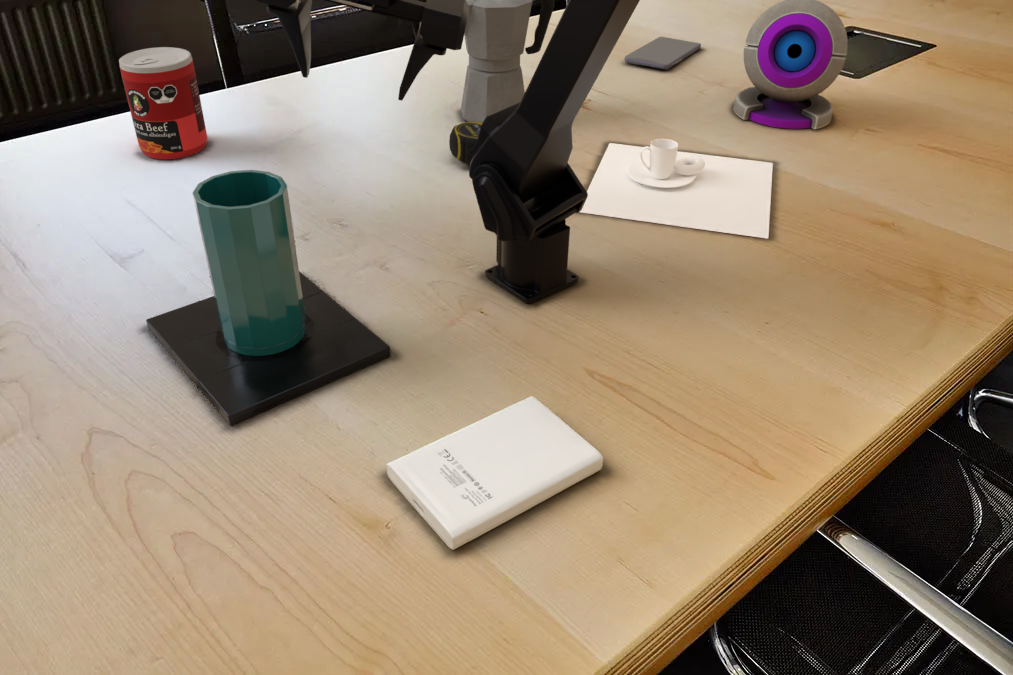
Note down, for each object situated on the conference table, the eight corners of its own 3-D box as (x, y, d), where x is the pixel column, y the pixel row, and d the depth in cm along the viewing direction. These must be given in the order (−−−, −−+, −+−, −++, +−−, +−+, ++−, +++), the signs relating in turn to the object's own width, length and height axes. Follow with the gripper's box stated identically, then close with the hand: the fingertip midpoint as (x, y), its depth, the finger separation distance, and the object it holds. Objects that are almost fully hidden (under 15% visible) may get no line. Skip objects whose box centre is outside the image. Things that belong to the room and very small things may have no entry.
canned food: (126, 152, 103) (103, 60, 96) (176, 131, 108) (157, 42, 102) (173, 165, 100) (152, 71, 93) (222, 142, 106) (205, 52, 99)
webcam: (728, 122, 114) (748, 5, 105) (738, 92, 124) (758, -17, 115) (829, 136, 111) (859, 16, 102) (832, 104, 121) (859, -8, 112)
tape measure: (514, 167, 101) (515, 137, 99) (458, 173, 99) (457, 143, 97) (496, 145, 106) (497, 116, 104) (443, 151, 105) (442, 121, 102)
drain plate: (391, 356, 70) (390, 346, 70) (230, 426, 63) (228, 415, 62) (296, 276, 80) (295, 267, 79) (148, 329, 73) (145, 319, 72)
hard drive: (602, 472, 60) (452, 553, 53) (530, 410, 65) (387, 477, 59) (604, 455, 59) (452, 535, 52) (530, 393, 64) (385, 459, 58)
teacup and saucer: (704, 168, 102) (710, 135, 99) (698, 196, 95) (704, 162, 93) (631, 159, 104) (635, 126, 101) (620, 186, 97) (624, 152, 95)
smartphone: (703, 43, 141) (667, 65, 130) (702, 49, 141) (667, 71, 130) (660, 35, 144) (622, 56, 133) (659, 41, 144) (621, 63, 134)
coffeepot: (468, 135, 109) (467, -14, 98) (434, 112, 115) (429, -30, 105) (567, 115, 115) (576, -27, 105) (530, 93, 122) (535, -42, 112)
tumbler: (294, 303, 74) (273, 164, 67) (315, 344, 70) (295, 199, 62) (216, 320, 72) (186, 178, 65) (233, 364, 67) (202, 215, 60)
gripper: (488, -81, 79) (456, 74, 90) (287, -135, 77) (277, 31, 87) (479, -42, 71) (445, 124, 81) (254, -101, 69) (247, 77, 79)
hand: (353, 87), depth 82 cm, fingers open, 9 cm apart
